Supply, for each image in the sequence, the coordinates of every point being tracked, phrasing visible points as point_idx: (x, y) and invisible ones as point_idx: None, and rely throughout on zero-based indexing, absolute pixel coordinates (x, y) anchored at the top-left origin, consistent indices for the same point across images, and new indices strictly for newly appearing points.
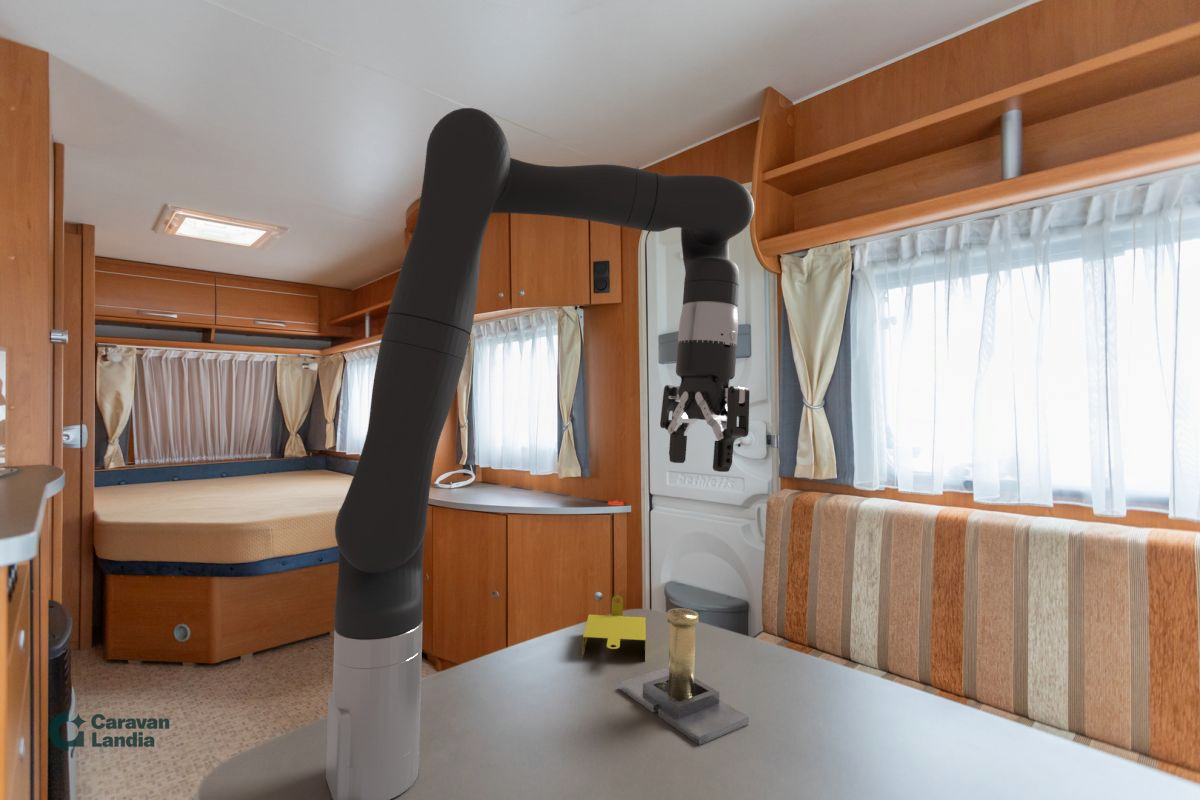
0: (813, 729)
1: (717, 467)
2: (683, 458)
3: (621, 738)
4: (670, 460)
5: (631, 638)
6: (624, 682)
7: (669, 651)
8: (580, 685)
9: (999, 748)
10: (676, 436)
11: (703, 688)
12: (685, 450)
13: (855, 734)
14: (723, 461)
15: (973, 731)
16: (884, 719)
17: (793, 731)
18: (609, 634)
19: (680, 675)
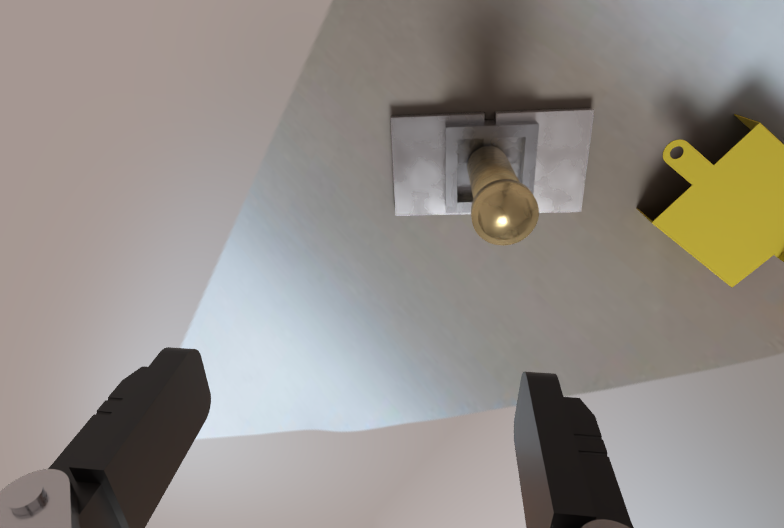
0: (347, 271)
1: (162, 357)
2: (518, 440)
3: (466, 17)
4: (549, 374)
5: (676, 204)
6: (587, 117)
7: (508, 169)
8: (648, 49)
9: (235, 393)
10: (547, 517)
11: (469, 201)
12: (521, 487)
13: (316, 302)
14: (119, 388)
15: (266, 402)
16: (324, 354)
17: (355, 248)
18: (724, 178)
19: (477, 164)
